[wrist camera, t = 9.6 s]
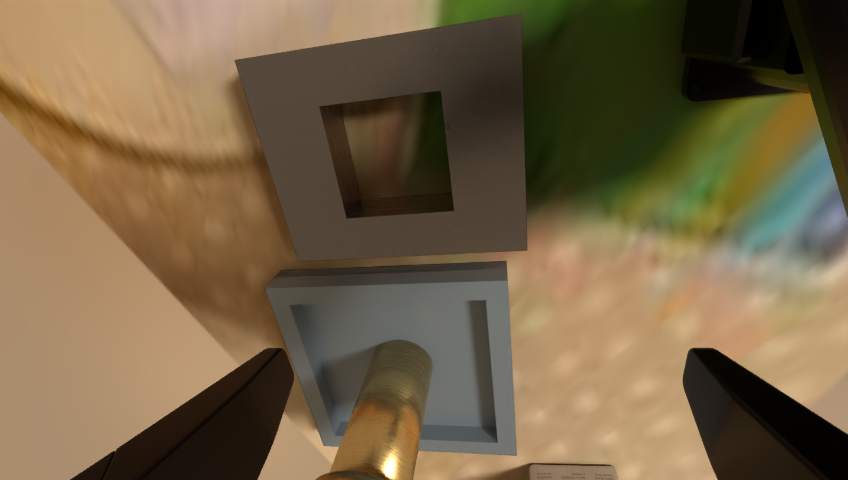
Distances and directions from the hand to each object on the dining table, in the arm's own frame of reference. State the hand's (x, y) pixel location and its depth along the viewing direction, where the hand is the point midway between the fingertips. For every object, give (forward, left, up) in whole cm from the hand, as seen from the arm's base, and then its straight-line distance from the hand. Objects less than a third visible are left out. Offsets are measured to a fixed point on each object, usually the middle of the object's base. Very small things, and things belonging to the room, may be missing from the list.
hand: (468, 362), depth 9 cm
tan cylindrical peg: (+6, +12, -12) cm, 18 cm away
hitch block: (+4, -2, -13) cm, 14 cm away
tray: (+6, +12, -13) cm, 19 cm away
